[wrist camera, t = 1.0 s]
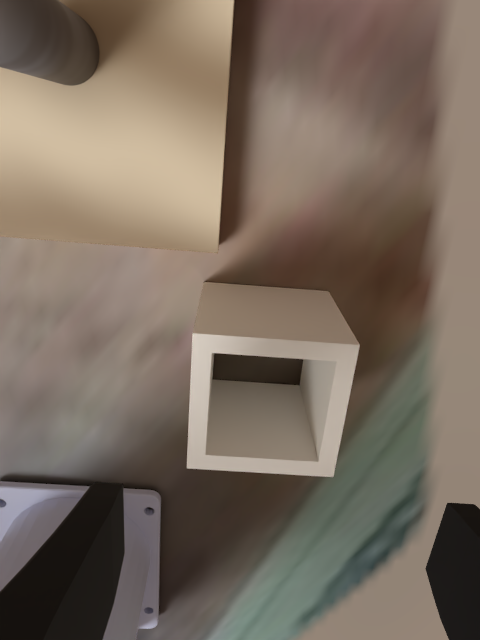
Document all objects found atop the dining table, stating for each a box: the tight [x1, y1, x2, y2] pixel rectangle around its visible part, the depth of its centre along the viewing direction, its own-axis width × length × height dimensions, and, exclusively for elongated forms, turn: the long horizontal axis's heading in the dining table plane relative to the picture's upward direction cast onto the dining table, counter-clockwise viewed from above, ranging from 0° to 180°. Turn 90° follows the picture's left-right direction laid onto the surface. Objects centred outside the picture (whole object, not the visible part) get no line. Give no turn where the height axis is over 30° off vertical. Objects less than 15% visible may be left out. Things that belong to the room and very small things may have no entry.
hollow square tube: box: [187, 282, 360, 477], centre depth 17 cm, size 5×5×5 cm
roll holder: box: [0, 0, 235, 253], centre depth 12 cm, size 12×10×6 cm
